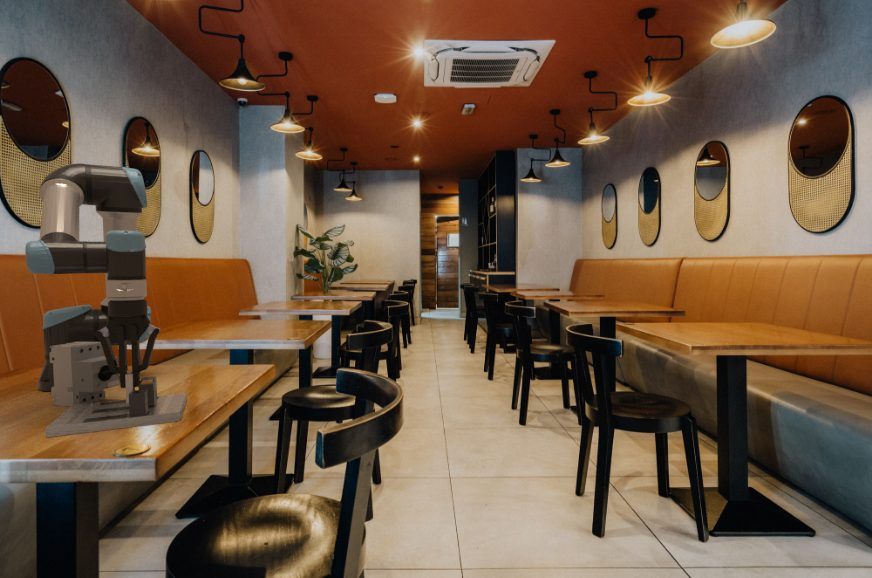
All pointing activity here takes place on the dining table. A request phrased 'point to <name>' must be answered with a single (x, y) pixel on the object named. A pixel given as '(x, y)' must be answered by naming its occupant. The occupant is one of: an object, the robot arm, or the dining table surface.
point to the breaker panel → (118, 413)
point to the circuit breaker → (80, 373)
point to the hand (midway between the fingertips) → (130, 401)
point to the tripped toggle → (149, 390)
